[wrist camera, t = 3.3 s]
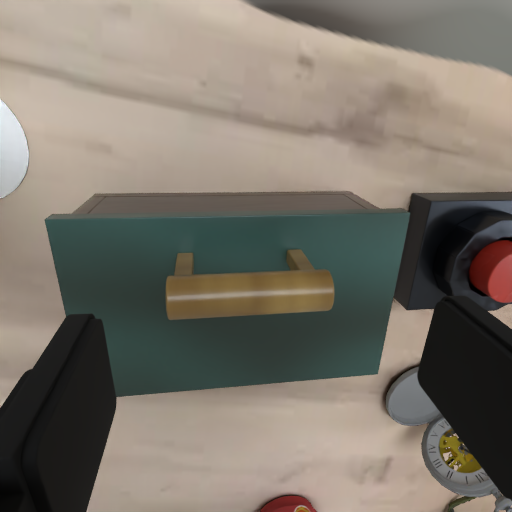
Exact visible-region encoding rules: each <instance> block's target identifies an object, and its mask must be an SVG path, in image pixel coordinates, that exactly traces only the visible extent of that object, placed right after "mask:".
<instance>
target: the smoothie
mask: <svg viewBox="0 0 512 512" xmlns="http://www.w3.org/2000/svg"><path fill="white" fill-rule="evenodd" d="M260 512H317V511H316V510H315V509H313V507H312V505H311V503H310V502H309V501H308V500H307V499H305V498H302V497H300V496H284V497H280V498H277V499H274V500H273V501H271V502H269V503H267V504H266V505H265V506H264V507H263V508H262V509H261V511H260Z"/></svg>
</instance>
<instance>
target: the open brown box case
mask: <svg viewBox="0 0 512 512" xmlns="http://www.w3.org/2000/svg"><path fill="white" fill-rule="evenodd" d="M336 209H379V208H378V207H376V206H374V205H373V204H371V203H369V202H367V201H366V200H364V199H362V198H360V197H359V196H357V195H355V194H353V193H352V192H246V193H135V194H94V195H93V196H92V197H91V198H90V199H89V200H87V201H86V202H85V203H84V204H83V205H81V206H80V207H79V208H78V209H77V210H76V211H74V212H73V213H72V214H93V213H154V212H215V211H276V210H336Z"/></svg>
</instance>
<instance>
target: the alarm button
mask: <svg viewBox="0 0 512 512" xmlns="http://www.w3.org/2000/svg"><path fill="white" fill-rule="evenodd" d="M469 279H470V281H471V283H472V285H473V286H474V287H476V288H477V289H478V290H480V291H481V292H483V293H484V294H486V295H487V296H489V297H490V298H492V299H493V300H495V301H497V302H502V303H509V302H512V242H511V241H507V240H500V241H495V242H493V243H490V244H488V245H487V246H485V247H484V248H483V249H482V250H481V251H480V252H479V253H478V255H477V256H476V257H475V258H474V259H473V260H472V262H471V265H470V269H469Z"/></svg>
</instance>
